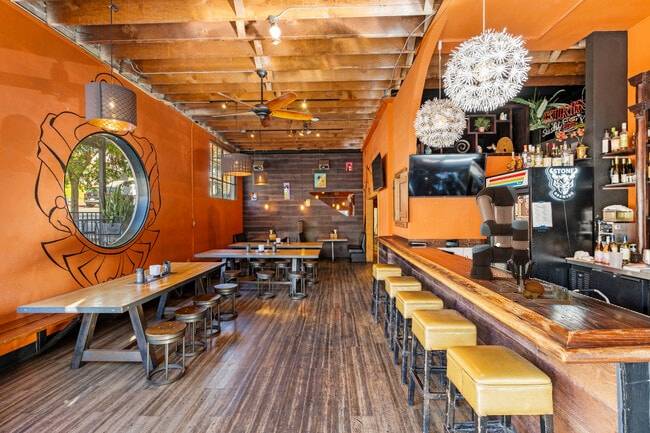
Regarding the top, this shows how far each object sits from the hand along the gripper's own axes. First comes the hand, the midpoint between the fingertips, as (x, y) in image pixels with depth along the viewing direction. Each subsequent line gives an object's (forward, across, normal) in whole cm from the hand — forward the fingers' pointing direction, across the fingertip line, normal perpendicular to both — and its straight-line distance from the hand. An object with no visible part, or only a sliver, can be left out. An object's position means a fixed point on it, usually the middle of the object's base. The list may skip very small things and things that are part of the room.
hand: (520, 291), depth 165 cm
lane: (+3, +6, 0) cm, 7 cm away
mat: (+3, -1, -14) cm, 14 cm away
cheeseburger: (+3, +6, +1) cm, 7 cm away
